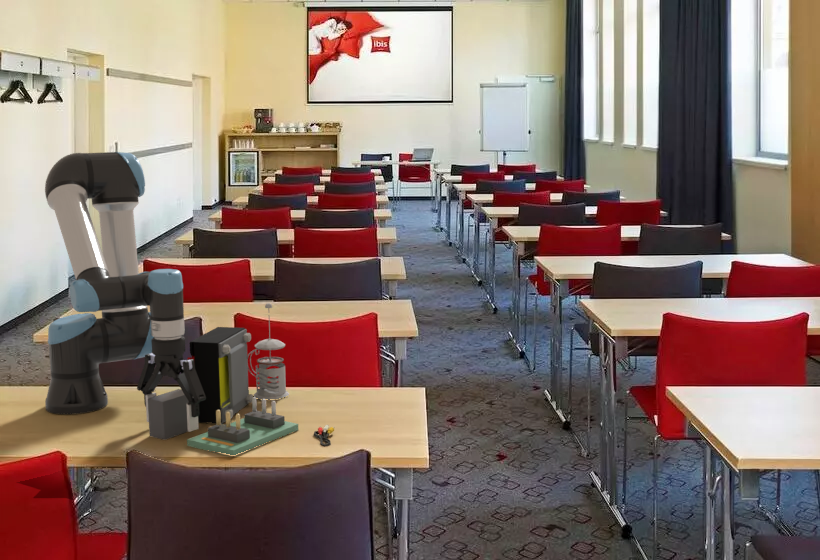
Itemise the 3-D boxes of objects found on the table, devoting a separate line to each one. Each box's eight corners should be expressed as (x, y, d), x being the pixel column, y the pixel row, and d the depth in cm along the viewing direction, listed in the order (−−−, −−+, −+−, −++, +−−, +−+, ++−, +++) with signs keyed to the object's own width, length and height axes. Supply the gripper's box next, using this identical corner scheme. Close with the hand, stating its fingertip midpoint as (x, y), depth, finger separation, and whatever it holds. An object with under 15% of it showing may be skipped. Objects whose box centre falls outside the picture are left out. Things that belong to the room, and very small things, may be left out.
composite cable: (331, 447, 213) (331, 437, 213) (310, 447, 213) (309, 437, 213) (335, 433, 223) (334, 423, 223) (314, 433, 223) (314, 423, 223)
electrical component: (229, 424, 229) (226, 343, 226) (189, 422, 231) (186, 341, 228) (255, 403, 246) (252, 328, 243) (218, 401, 248) (215, 326, 245)
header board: (187, 445, 214) (185, 413, 213) (253, 420, 232) (252, 390, 231) (233, 457, 206) (232, 423, 205) (298, 429, 225) (297, 399, 223)
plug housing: (164, 439, 218) (162, 401, 217) (149, 436, 221) (147, 398, 219) (195, 428, 226) (193, 392, 225) (180, 425, 229) (178, 389, 227)
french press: (278, 402, 248) (276, 307, 244) (239, 397, 252) (236, 305, 248) (296, 392, 257) (294, 301, 253) (258, 388, 261) (255, 298, 257)
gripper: (118, 333, 223) (123, 420, 227) (195, 346, 210) (199, 438, 213) (143, 327, 230) (147, 412, 233) (219, 339, 216) (222, 429, 219)
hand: (172, 425), depth 223 cm, fingers open, 13 cm apart
